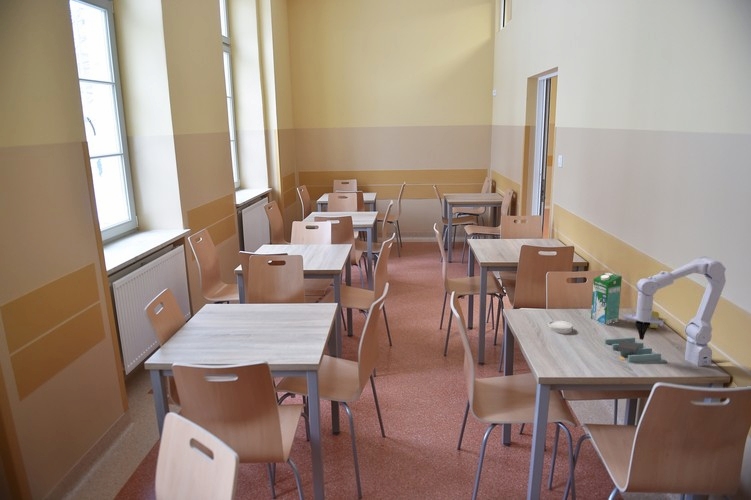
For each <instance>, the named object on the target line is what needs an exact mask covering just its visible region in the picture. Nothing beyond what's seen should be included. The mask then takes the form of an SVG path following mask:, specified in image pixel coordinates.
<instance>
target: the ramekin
mask: <svg viewBox="0 0 751 500" xmlns="http://www.w3.org/2000/svg"><path fill="white" fill-rule="evenodd" d="M547 327H548V329H549V331H551V332H554V333H556V334H571V333H572V330H573V327H574V325H573V324H572V323H571V322H569V321H565V320H552V321H548V322H547Z"/></svg>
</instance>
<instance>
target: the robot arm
mask: <svg viewBox="0 0 751 500" xmlns="http://www.w3.org/2000/svg"><path fill="white" fill-rule="evenodd" d="M725 273H726V267H725V266H724V264H723V263H722V262H720V261H717V260H714V259H712V258H710V257H708V256H700V257H698V258H695V259H693V260H691V262H688V263H687V264H684V265H682V266H680V267H678V268H676V269H674V270H672V271H666V270H665V271H663V270H661V271H659V272H658V273H657V274H655V275H652V276H648V278H645V277H644V278H640V279H639V280H638V281H637V283H636V284H635V287H636V290H637V300H636V301H637V302H636V312H635V314H624V315H623V321H631V322H635V328H636V330H637V332H638V337H639V340H642V341H644V338H645V335H646V332H647V330H649V328H650V327H649V326H650V324H656V325H658V326H659V327H663V326H664V321H665V320H663V319H660V318H659V319H656V318H652V317H651V316H652V311H653V303H654V296H655V294H656V293H657V291H659V290H660V289H663V288H666V287H668V286H670V285H673V284H674V282H675V280H677V279H681V278H684V277H686V276H689V275H692V274H699V275H703V276H704V277H705V278H706V280H707V281H708V283H707V286H706V288H705V291H704V293H703V296H702V298H701V301H700V303H699V306H698V309H697V312H696V314H695V316H694V317H692V318H690V320H689V322H688V324H686V325H685V327H684V333H685V334H686V344H685V345H686V346H685V353H684V360H686V361H687V362H689V363H690V364H691V363H692V364H693V365H695V366H697V367H701V366H709V367H713V364H712V358H713V357H712V356H713V349H712V348H711V347H710V346H709V345H708V343H710V341H711V339H712V331H713V327H712V324H711V323H712V322H711V321H712V319H713V316H714V313H715V311H716V309H717V305H718V302H719V300H720V297H721V295H722V292H723V290H724V288H725V286H726V285H725V284H726V281H727V280H726V274H725Z"/></svg>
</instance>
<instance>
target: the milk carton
mask: <svg viewBox="0 0 751 500" xmlns="http://www.w3.org/2000/svg"><path fill="white" fill-rule="evenodd" d="M622 277H623V276H622V275H618V274H615V273H612V272H611V273H610V272H605V273H602V274H601V275H598V276H596V277H594V278H593V285H592V286H593V287H592V298H591V299H592V300H591V311H590V313H591V315H590V319H591V320H593V319H594V320H593V321H595V320H596V322H597V321H599V322H598V323H600V322H601V323H600V324H602V323H604V324H607V325H609V324H608V323H613V322H618V323H619V315H620V303H621V302H620V301H621V291H622V290H621V289H622V279H623V278H622ZM604 324H603V325H604ZM613 324H614V323H613Z"/></svg>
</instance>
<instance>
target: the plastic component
mask: <svg viewBox="0 0 751 500" xmlns="http://www.w3.org/2000/svg"><path fill="white" fill-rule="evenodd" d="M651 317H652V318H656V319H660V313H659V312H658V311H655V310H652V316H651ZM649 328H650V329H658V328H659V325H656V324H650V326H649Z"/></svg>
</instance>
